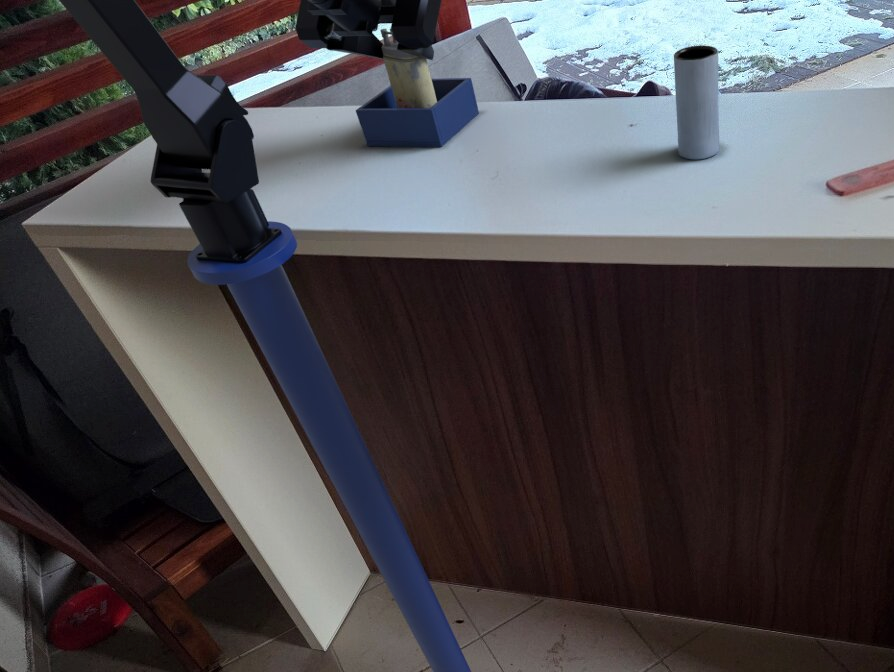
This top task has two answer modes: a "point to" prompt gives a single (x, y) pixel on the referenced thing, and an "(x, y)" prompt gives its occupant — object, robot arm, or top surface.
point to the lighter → (407, 76)
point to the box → (419, 116)
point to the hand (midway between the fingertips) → (409, 55)
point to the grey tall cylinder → (697, 101)
